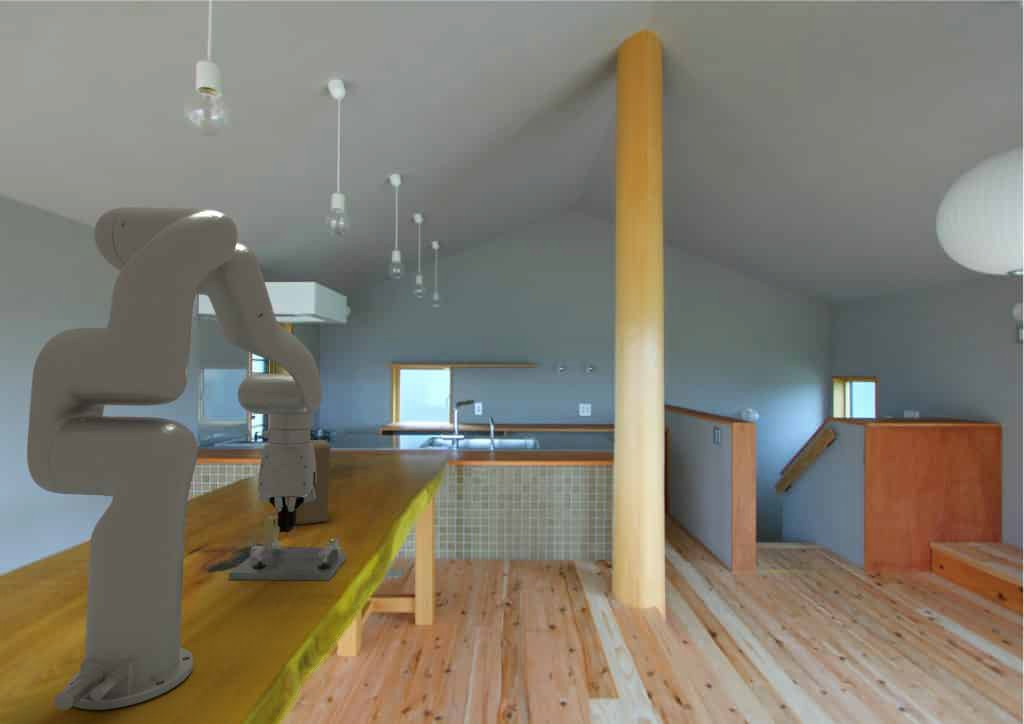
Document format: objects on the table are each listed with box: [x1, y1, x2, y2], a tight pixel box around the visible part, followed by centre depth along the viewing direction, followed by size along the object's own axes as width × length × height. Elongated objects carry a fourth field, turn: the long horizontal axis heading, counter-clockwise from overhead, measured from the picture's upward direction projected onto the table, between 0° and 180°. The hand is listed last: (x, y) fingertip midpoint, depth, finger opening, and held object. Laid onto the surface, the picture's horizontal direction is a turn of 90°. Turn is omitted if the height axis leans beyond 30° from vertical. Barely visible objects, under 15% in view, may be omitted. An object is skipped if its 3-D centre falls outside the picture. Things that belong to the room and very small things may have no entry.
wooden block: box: [286, 439, 331, 526], centre depth 141 cm, size 10×10×20 cm
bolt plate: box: [228, 537, 347, 581], centre depth 105 cm, size 12×18×5 cm, turn 93°
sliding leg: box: [253, 515, 280, 565], centre depth 105 cm, size 8×2×8 cm, turn 3°
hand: (286, 530), depth 107 cm, fingers closed
